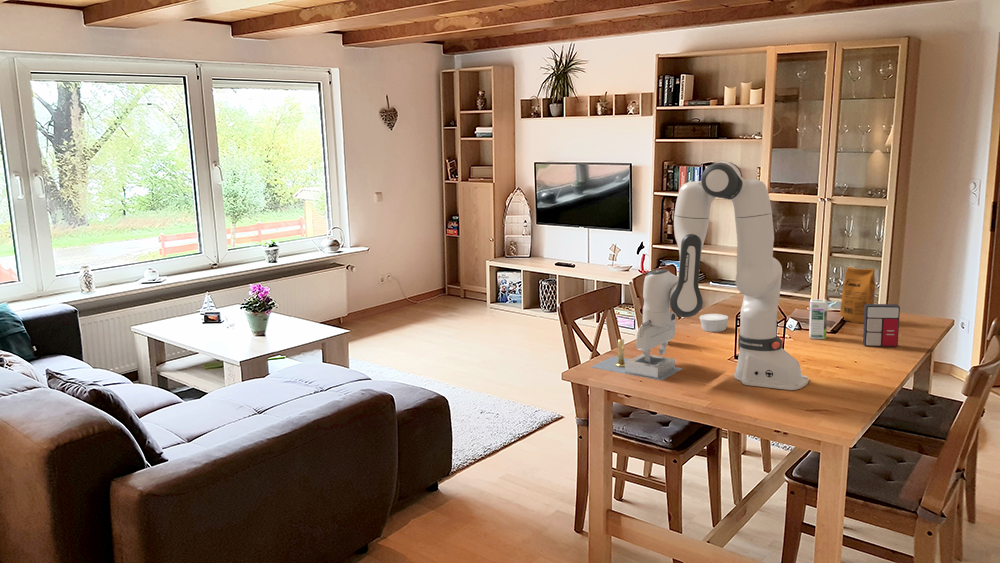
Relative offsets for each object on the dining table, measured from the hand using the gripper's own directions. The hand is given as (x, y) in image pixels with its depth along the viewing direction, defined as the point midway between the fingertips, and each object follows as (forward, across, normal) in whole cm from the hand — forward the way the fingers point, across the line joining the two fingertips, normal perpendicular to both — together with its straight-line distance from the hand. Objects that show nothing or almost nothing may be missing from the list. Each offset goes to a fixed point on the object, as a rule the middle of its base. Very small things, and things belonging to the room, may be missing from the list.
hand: (655, 357), depth 256 cm
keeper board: (+5, -5, +4) cm, 8 cm away
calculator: (+3, +70, -53) cm, 88 cm away
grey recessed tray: (+3, -5, -1) cm, 6 cm away
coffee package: (+4, +104, -35) cm, 109 cm away
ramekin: (+5, +61, +7) cm, 61 cm away
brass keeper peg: (+3, -5, +10) cm, 12 cm away
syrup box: (+4, +70, -31) cm, 76 cm away
